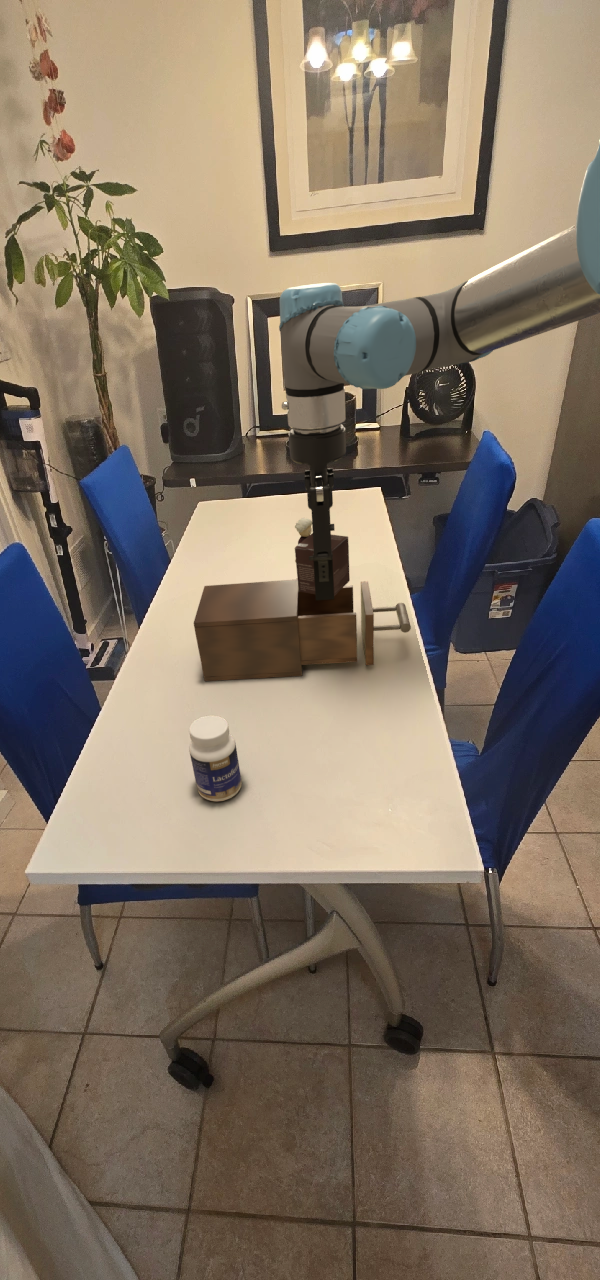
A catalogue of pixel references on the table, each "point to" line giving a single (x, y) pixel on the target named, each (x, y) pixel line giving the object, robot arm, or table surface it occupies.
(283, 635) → the cabinet
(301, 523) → the grandmother figurine
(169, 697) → the table surface
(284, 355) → the robot arm
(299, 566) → the box
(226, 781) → the pill bottle
